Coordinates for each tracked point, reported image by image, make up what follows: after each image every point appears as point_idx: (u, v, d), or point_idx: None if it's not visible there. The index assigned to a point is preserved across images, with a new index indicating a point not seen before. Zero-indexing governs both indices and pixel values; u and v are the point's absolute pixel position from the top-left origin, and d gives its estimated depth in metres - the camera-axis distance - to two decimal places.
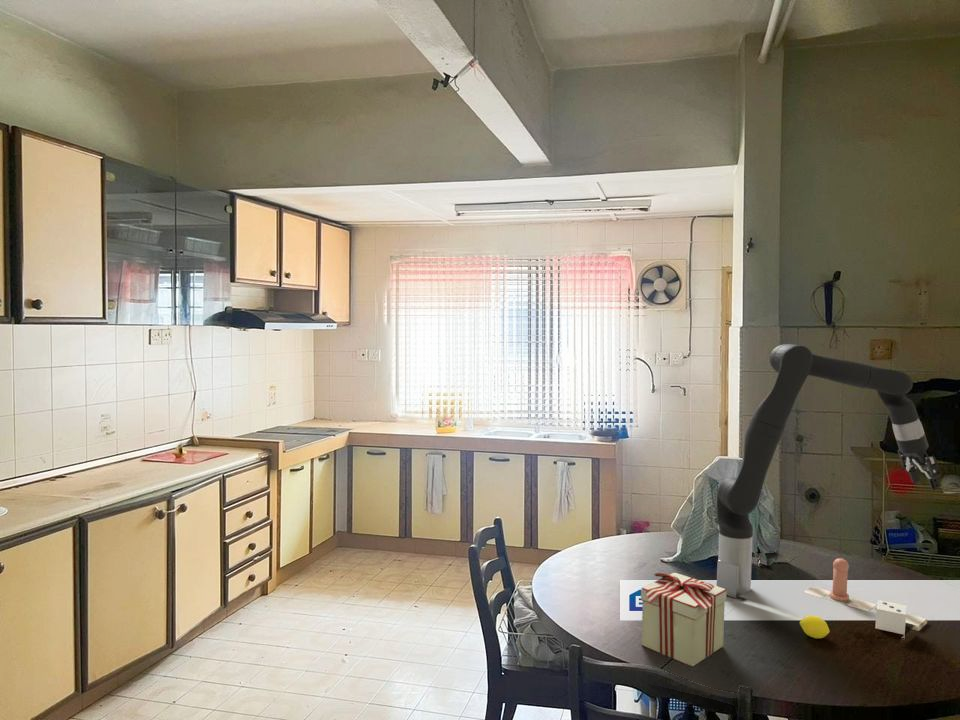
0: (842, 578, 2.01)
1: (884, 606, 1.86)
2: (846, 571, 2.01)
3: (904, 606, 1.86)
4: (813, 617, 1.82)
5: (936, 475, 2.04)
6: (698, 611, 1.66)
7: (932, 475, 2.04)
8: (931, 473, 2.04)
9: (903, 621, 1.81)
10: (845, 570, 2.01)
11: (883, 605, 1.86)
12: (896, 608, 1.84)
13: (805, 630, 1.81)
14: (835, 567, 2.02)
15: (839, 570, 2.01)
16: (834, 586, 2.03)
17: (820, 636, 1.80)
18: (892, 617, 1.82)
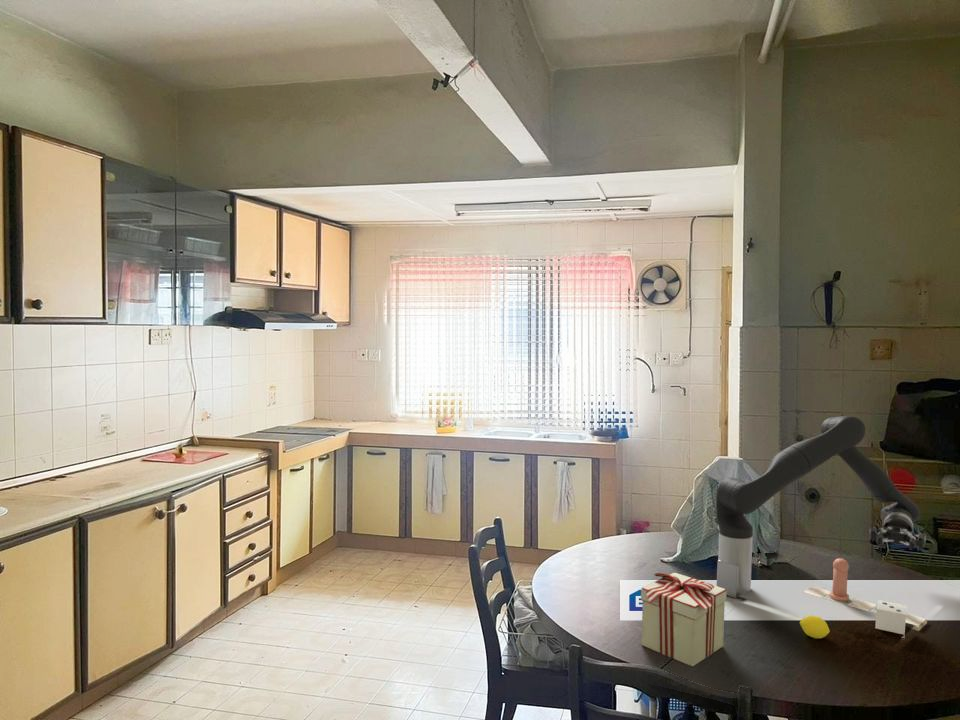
0: (842, 578, 2.01)
1: (884, 606, 1.86)
2: (846, 571, 2.01)
3: (904, 606, 1.86)
4: (813, 617, 1.82)
5: (923, 541, 1.94)
6: (698, 611, 1.66)
7: (922, 538, 1.94)
8: (922, 537, 1.95)
9: (903, 621, 1.81)
10: (845, 570, 2.01)
11: (883, 605, 1.86)
12: (896, 608, 1.84)
13: (805, 630, 1.81)
14: (835, 567, 2.02)
15: (839, 570, 2.01)
16: (834, 586, 2.03)
17: (820, 636, 1.80)
18: (892, 617, 1.82)
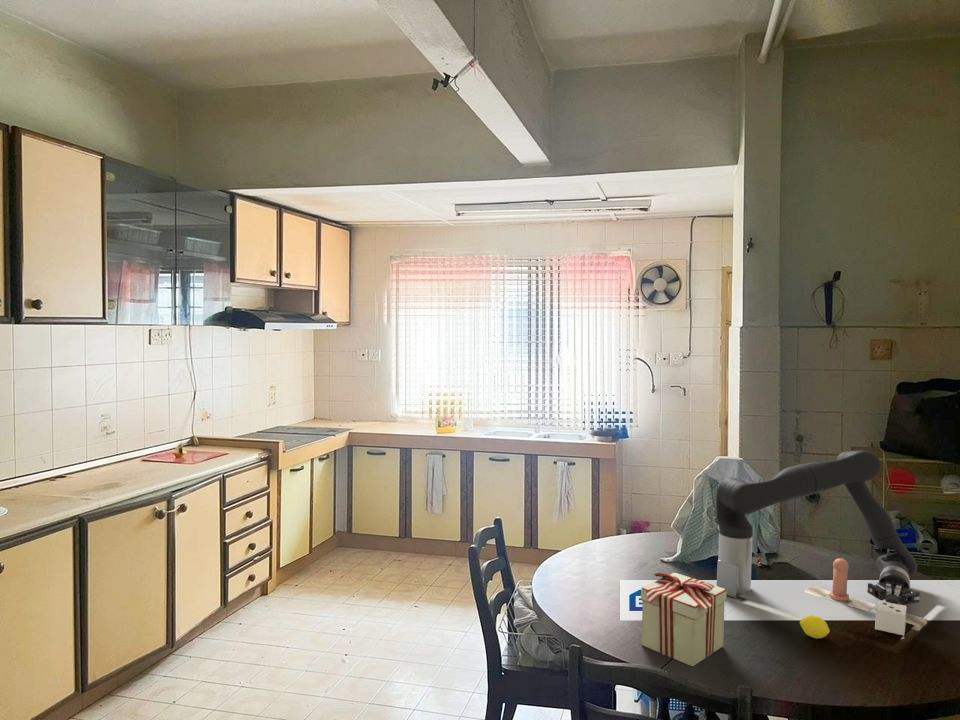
0: (842, 578, 2.01)
1: (884, 606, 1.85)
2: (846, 571, 2.01)
3: (904, 606, 1.85)
4: (813, 617, 1.82)
5: (906, 599, 1.90)
6: (698, 611, 1.66)
7: (906, 595, 1.90)
8: (907, 594, 1.91)
9: (903, 621, 1.81)
10: (845, 570, 2.01)
11: (883, 605, 1.86)
12: (896, 608, 1.84)
13: (805, 630, 1.81)
14: (835, 567, 2.02)
15: (839, 570, 2.01)
16: (834, 586, 2.03)
17: (820, 636, 1.80)
18: (891, 618, 1.82)
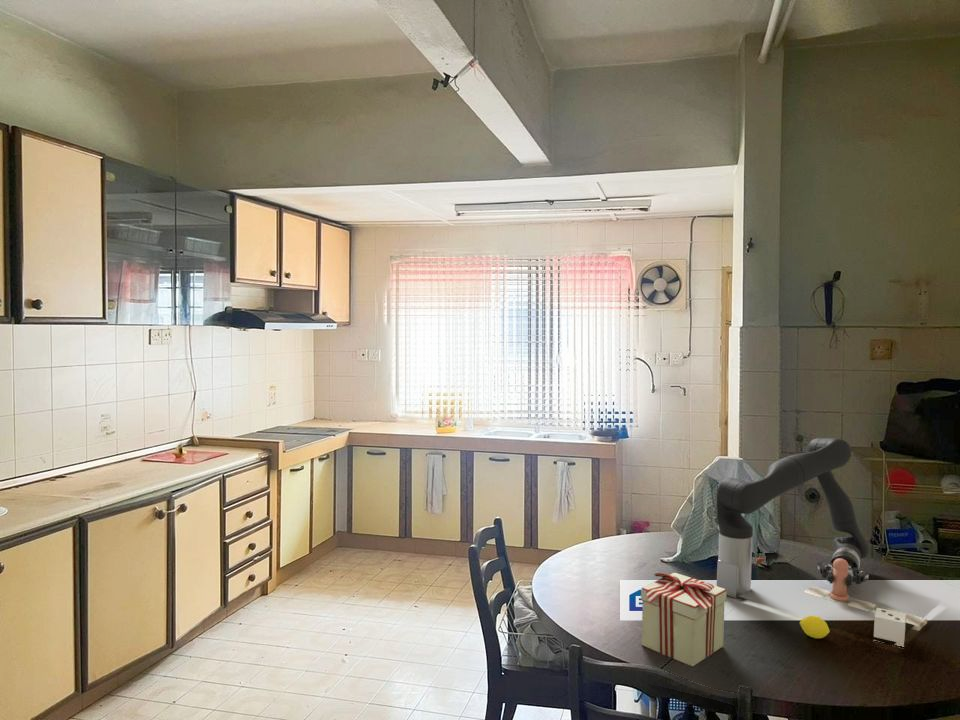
0: (842, 578, 2.01)
1: (883, 614, 1.81)
2: (846, 571, 2.01)
3: (903, 614, 1.81)
4: (813, 617, 1.82)
5: (860, 578, 2.02)
6: (698, 611, 1.66)
7: (860, 575, 2.02)
8: (860, 574, 2.03)
9: (902, 630, 1.76)
10: (845, 570, 2.01)
11: (882, 613, 1.81)
12: (895, 616, 1.80)
13: (805, 630, 1.81)
14: (835, 567, 2.02)
15: (839, 570, 2.01)
16: (834, 586, 2.03)
17: (820, 636, 1.80)
18: (891, 626, 1.78)
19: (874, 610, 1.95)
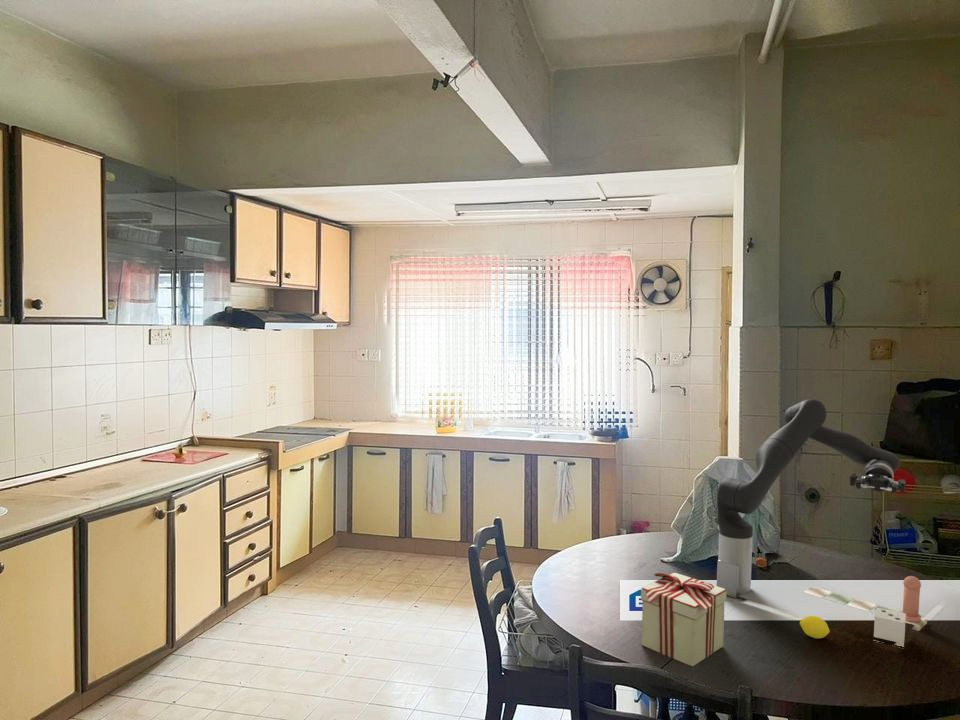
0: (914, 597, 1.88)
1: (883, 614, 1.81)
2: (918, 590, 1.88)
3: (903, 614, 1.81)
4: (813, 617, 1.82)
5: (904, 486, 2.06)
6: (698, 611, 1.66)
7: (904, 483, 2.06)
8: (903, 482, 2.07)
9: (902, 630, 1.76)
10: (917, 589, 1.88)
11: (882, 613, 1.81)
12: (895, 616, 1.80)
13: (805, 630, 1.81)
14: (906, 585, 1.89)
15: (911, 589, 1.88)
16: (905, 606, 1.90)
17: (820, 636, 1.80)
18: (891, 626, 1.78)
19: (874, 610, 1.95)
